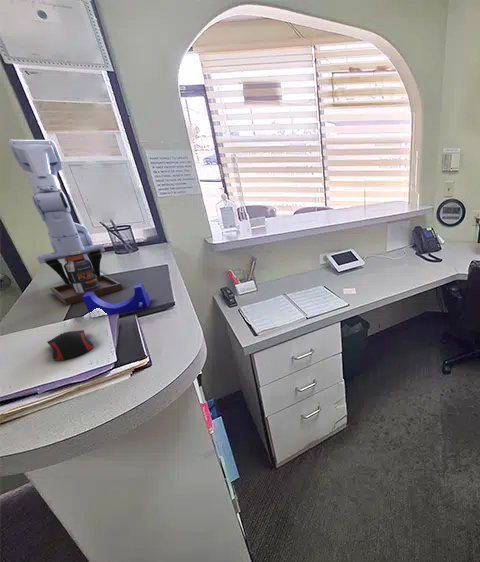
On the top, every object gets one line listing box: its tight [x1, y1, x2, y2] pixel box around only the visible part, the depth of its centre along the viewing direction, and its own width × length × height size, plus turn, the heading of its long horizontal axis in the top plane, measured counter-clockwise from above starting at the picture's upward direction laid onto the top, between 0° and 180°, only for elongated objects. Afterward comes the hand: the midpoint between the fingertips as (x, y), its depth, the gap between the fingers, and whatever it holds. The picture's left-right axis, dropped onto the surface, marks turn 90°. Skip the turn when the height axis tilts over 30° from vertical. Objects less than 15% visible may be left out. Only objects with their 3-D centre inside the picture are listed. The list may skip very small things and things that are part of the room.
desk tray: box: [50, 274, 124, 306], centre depth 95 cm, size 15×13×2 cm
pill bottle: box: [63, 254, 100, 293], centre depth 93 cm, size 6×6×11 cm
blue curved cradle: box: [82, 282, 151, 316], centre depth 81 cm, size 12×4×6 cm, turn 117°
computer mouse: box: [47, 329, 95, 362], centre depth 65 cm, size 6×11×4 cm, turn 51°
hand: (83, 279), depth 94 cm, fingers open, 7 cm apart
